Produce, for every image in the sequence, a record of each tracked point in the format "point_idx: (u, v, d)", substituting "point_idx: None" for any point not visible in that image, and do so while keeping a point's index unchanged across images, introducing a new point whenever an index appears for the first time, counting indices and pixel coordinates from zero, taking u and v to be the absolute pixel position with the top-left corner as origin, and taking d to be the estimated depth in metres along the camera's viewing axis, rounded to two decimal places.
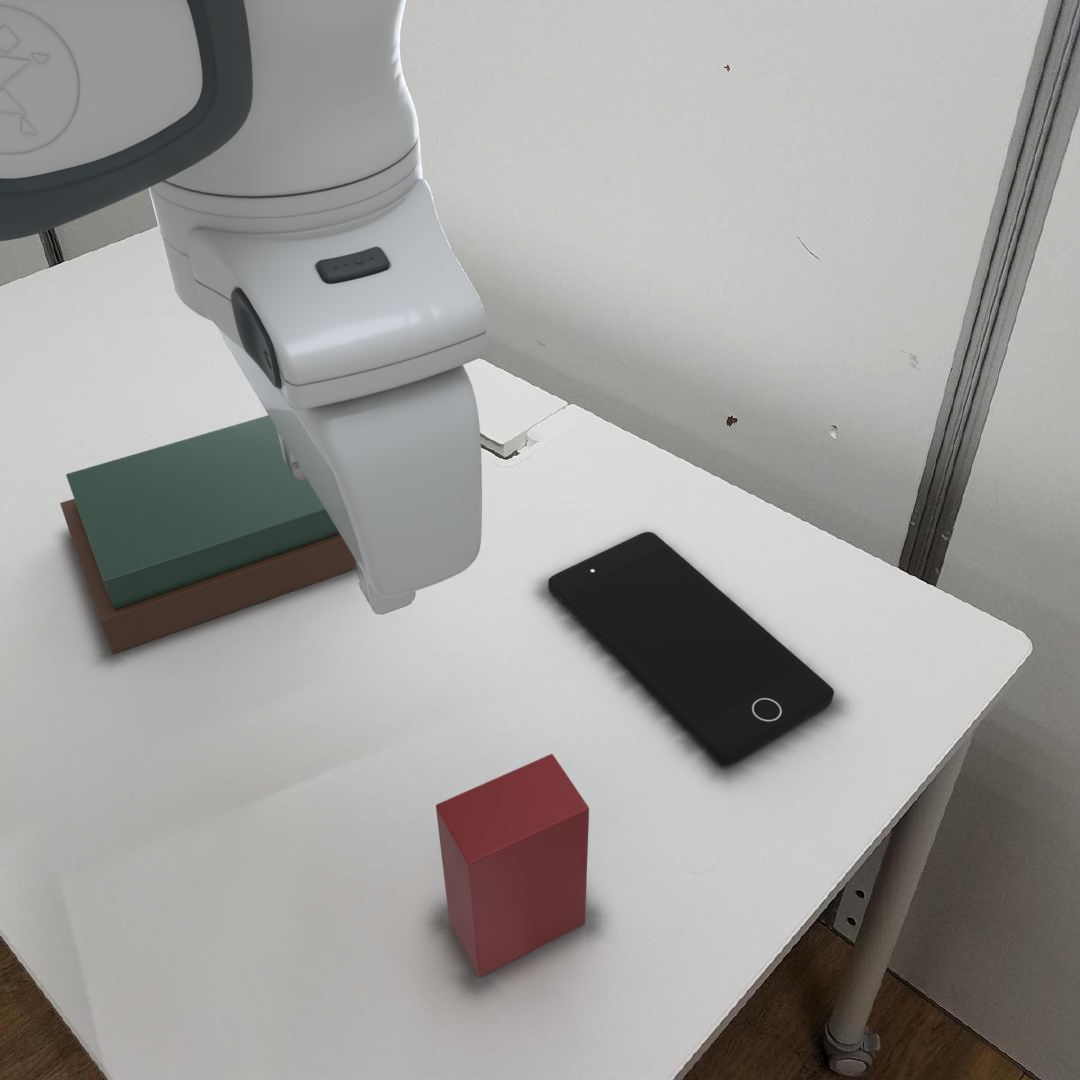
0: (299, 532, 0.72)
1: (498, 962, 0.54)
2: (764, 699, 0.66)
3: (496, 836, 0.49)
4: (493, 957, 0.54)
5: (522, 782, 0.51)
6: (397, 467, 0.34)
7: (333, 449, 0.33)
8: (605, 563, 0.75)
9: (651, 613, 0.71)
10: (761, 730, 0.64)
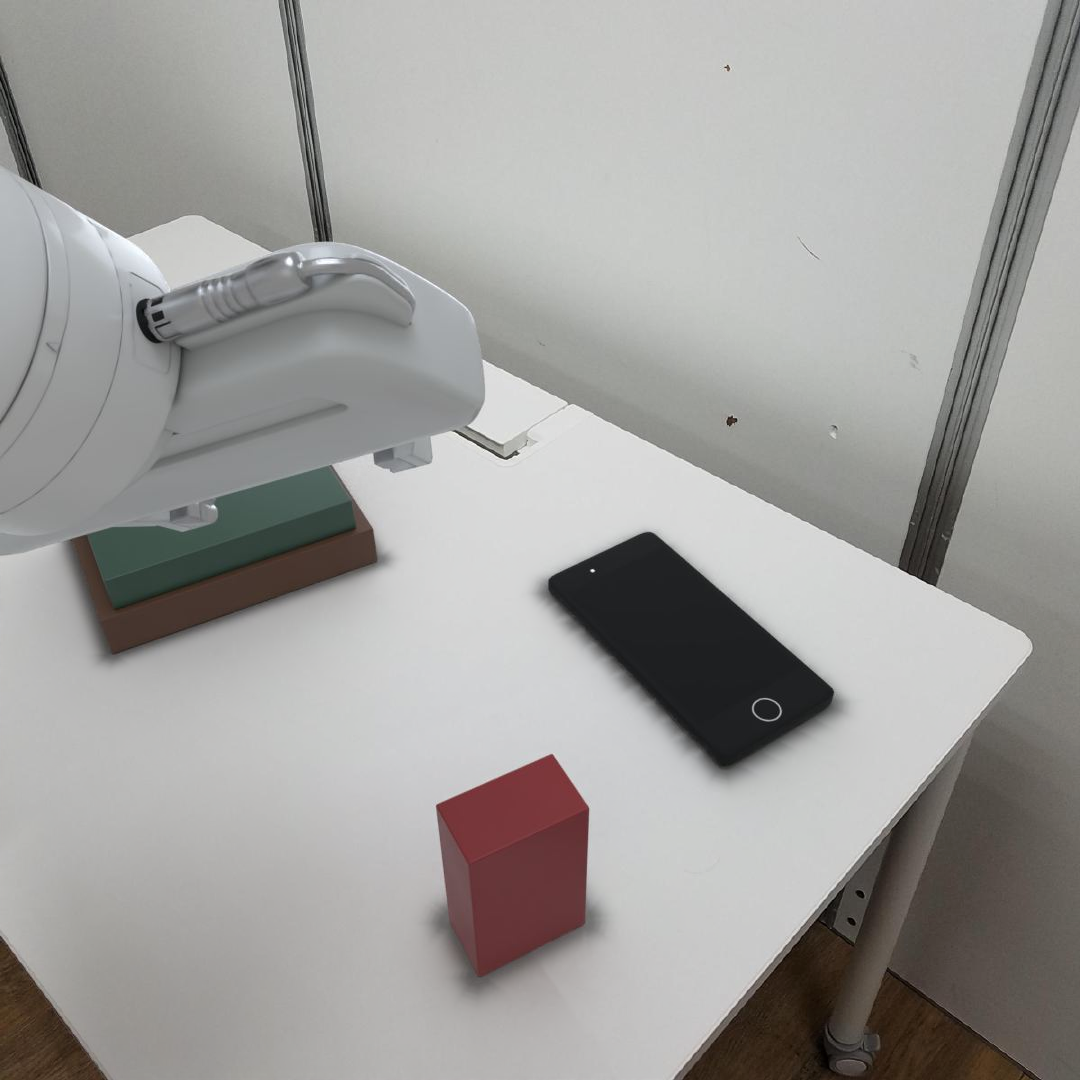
0: (299, 532, 0.72)
1: (498, 962, 0.54)
2: (764, 699, 0.66)
3: (497, 835, 0.49)
4: (493, 957, 0.54)
5: (522, 782, 0.51)
6: None
7: None
8: (605, 563, 0.75)
9: (651, 613, 0.71)
10: (761, 730, 0.64)
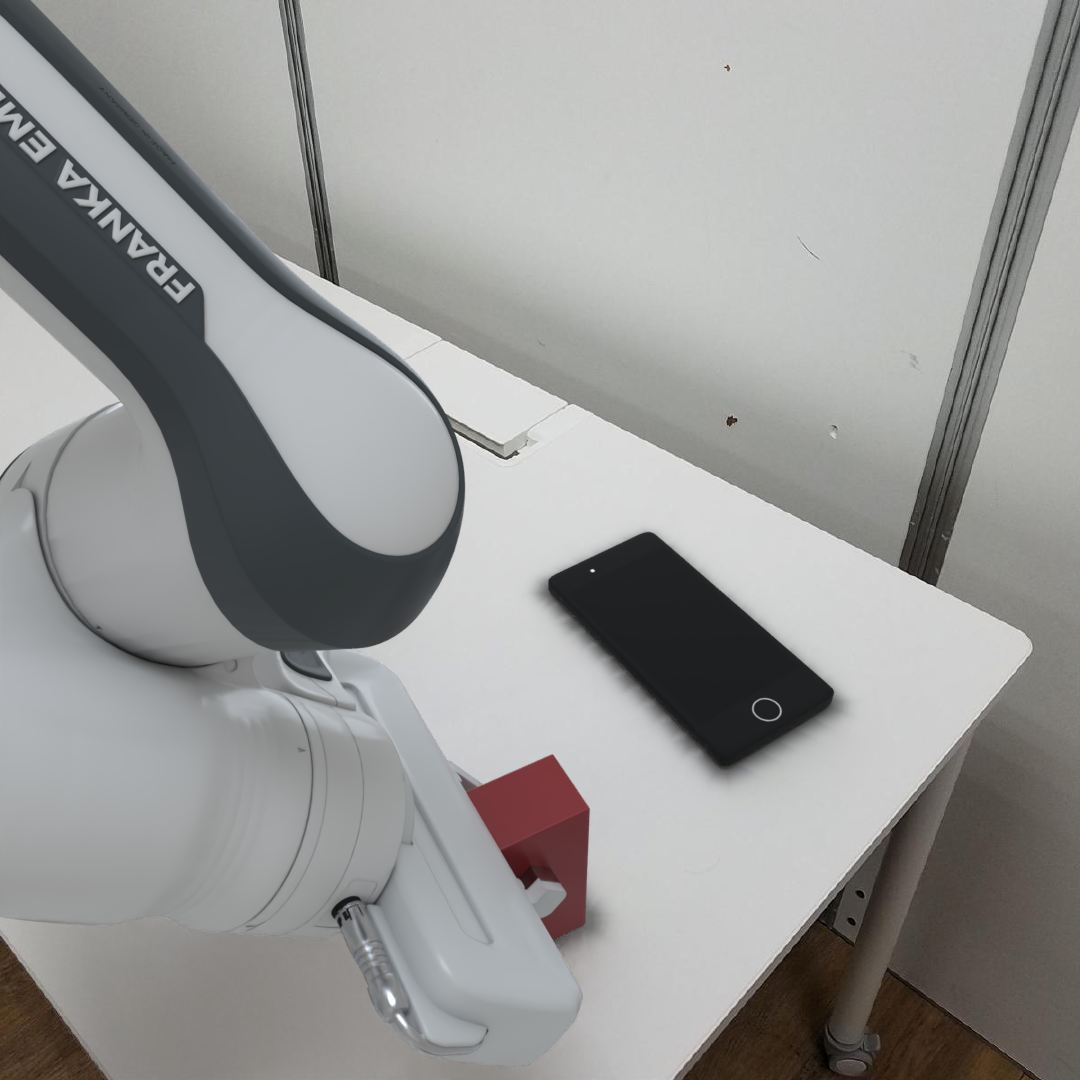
0: None
1: None
2: (764, 699, 0.66)
3: (497, 836, 0.49)
4: None
5: (522, 783, 0.51)
6: None
7: None
8: (605, 563, 0.75)
9: (651, 613, 0.71)
10: (761, 730, 0.64)
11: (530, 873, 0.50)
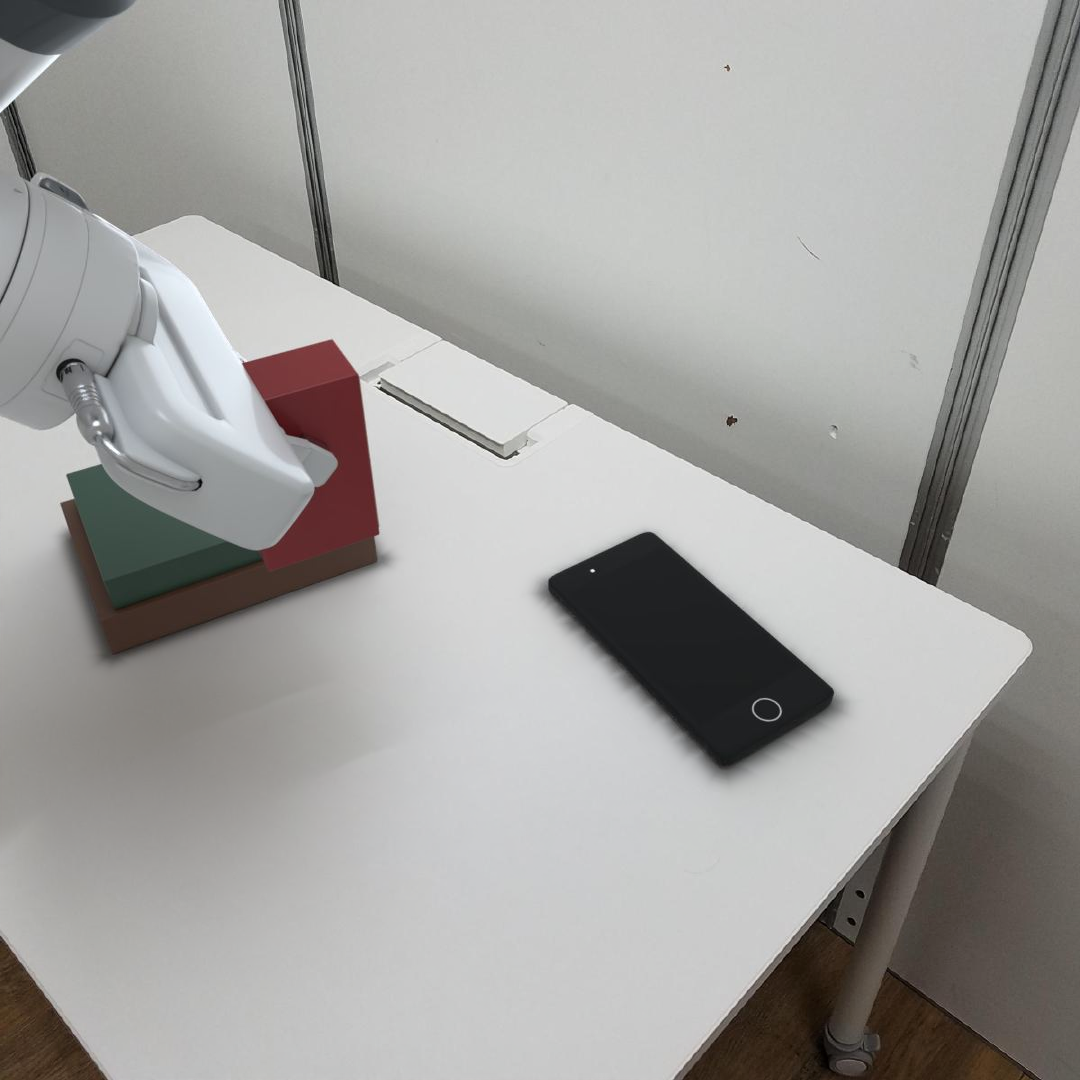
0: None
1: (287, 556, 0.56)
2: (764, 699, 0.66)
3: (264, 391, 0.50)
4: (281, 548, 0.56)
5: (298, 357, 0.53)
6: None
7: None
8: (605, 563, 0.75)
9: (651, 613, 0.71)
10: (761, 730, 0.64)
11: None
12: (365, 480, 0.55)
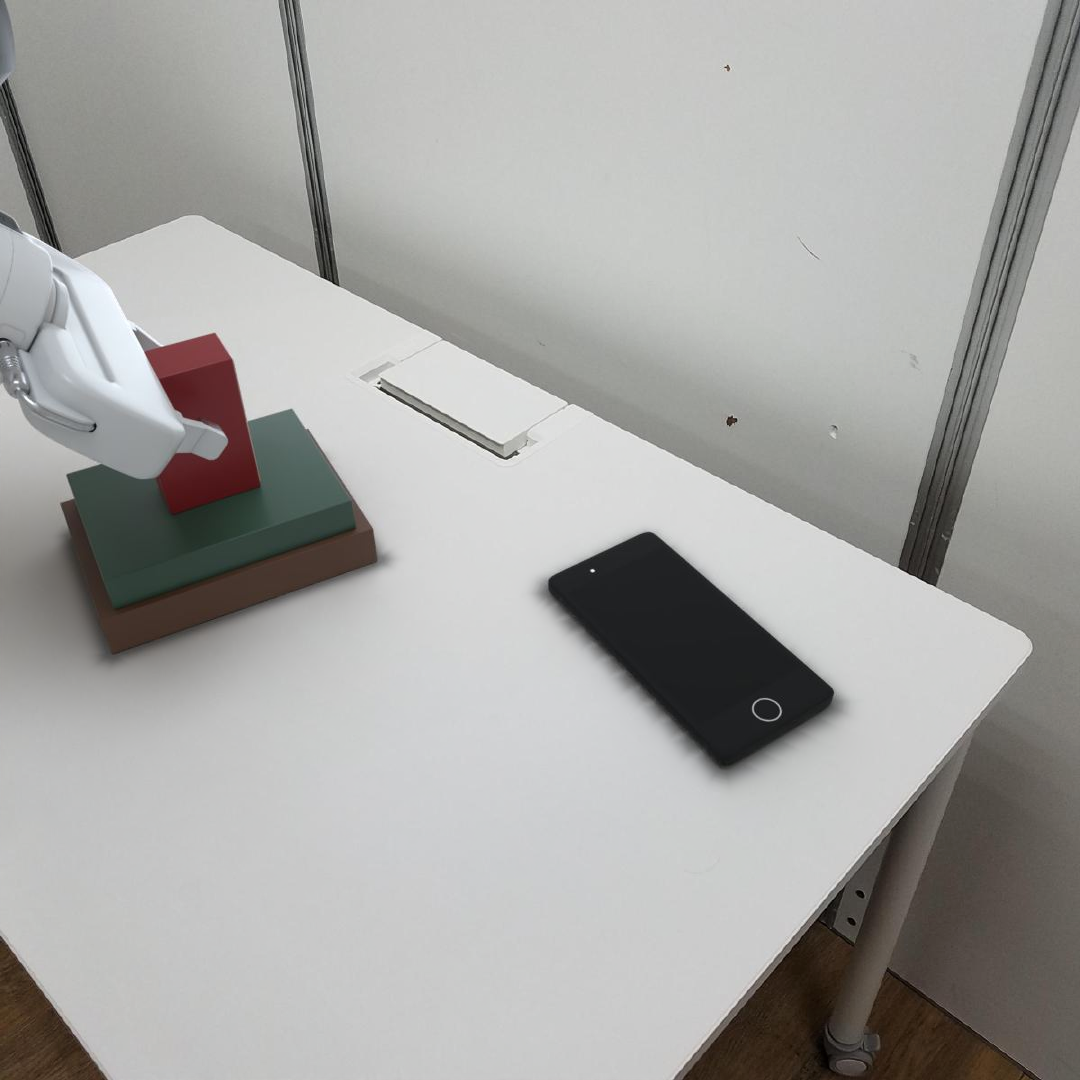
0: (299, 532, 0.72)
1: (185, 503, 0.72)
2: (764, 699, 0.66)
3: (158, 372, 0.66)
4: (180, 495, 0.71)
5: (187, 346, 0.69)
6: None
7: (23, 232, 0.68)
8: (605, 563, 0.75)
9: (651, 613, 0.71)
10: (761, 730, 0.64)
11: None
12: (245, 442, 0.71)
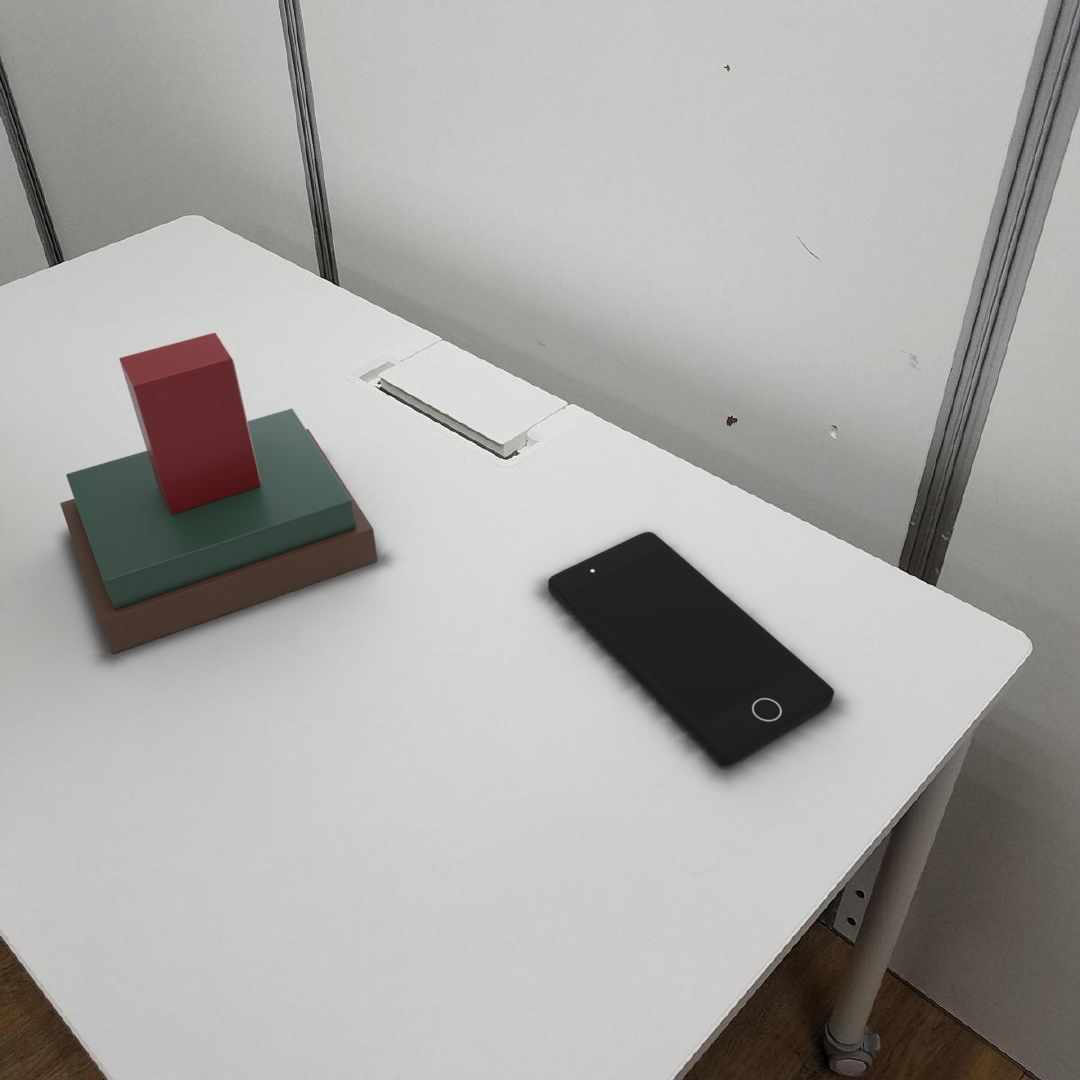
0: (299, 532, 0.72)
1: (185, 503, 0.72)
2: (764, 699, 0.66)
3: (158, 372, 0.66)
4: (180, 495, 0.71)
5: (187, 346, 0.69)
6: None
7: None
8: (605, 563, 0.75)
9: (651, 613, 0.71)
10: (761, 730, 0.64)
11: None
12: (245, 442, 0.71)
